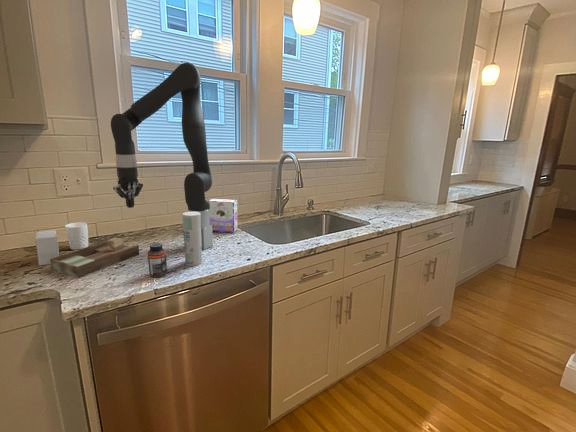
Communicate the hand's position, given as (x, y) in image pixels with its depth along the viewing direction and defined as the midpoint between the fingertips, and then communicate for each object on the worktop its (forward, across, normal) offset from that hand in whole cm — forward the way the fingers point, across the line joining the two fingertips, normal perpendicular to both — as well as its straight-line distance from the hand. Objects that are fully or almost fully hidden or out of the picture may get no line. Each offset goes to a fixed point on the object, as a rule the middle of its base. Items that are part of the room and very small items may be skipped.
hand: (130, 207), depth 132 cm
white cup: (+19, -10, +21) cm, 30 cm away
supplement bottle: (+18, -14, -29) cm, 37 cm away
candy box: (+18, +40, -17) cm, 48 cm away
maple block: (+16, -8, 0) cm, 18 cm away
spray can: (+18, 0, -33) cm, 37 cm away
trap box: (+18, -16, 0) cm, 25 cm away
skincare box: (+19, -24, +17) cm, 35 cm away
